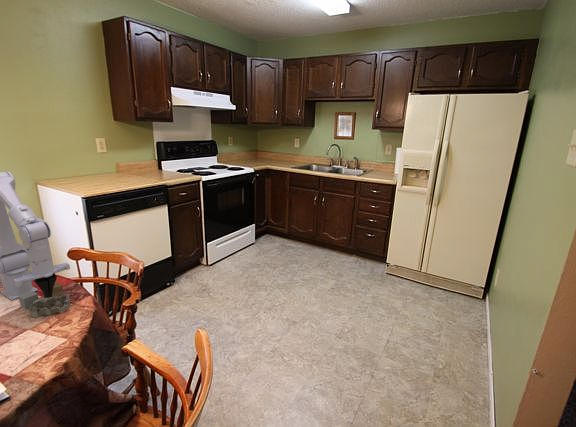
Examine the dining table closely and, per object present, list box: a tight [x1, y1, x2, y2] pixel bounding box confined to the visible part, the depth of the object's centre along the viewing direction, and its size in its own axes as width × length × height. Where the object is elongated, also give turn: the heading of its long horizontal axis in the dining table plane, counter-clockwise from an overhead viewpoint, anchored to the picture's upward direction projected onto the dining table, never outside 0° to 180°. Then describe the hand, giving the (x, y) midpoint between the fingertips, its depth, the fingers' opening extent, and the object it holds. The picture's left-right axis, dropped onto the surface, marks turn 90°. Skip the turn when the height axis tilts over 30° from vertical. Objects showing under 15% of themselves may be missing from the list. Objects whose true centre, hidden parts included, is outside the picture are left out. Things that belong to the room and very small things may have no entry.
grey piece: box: [27, 292, 71, 319], centre depth 103 cm, size 11×8×4 cm
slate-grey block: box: [18, 291, 40, 310], centre depth 106 cm, size 4×4×4 cm
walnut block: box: [52, 281, 65, 297], centre depth 112 cm, size 4×4×4 cm
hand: (48, 296), depth 102 cm, fingers closed
